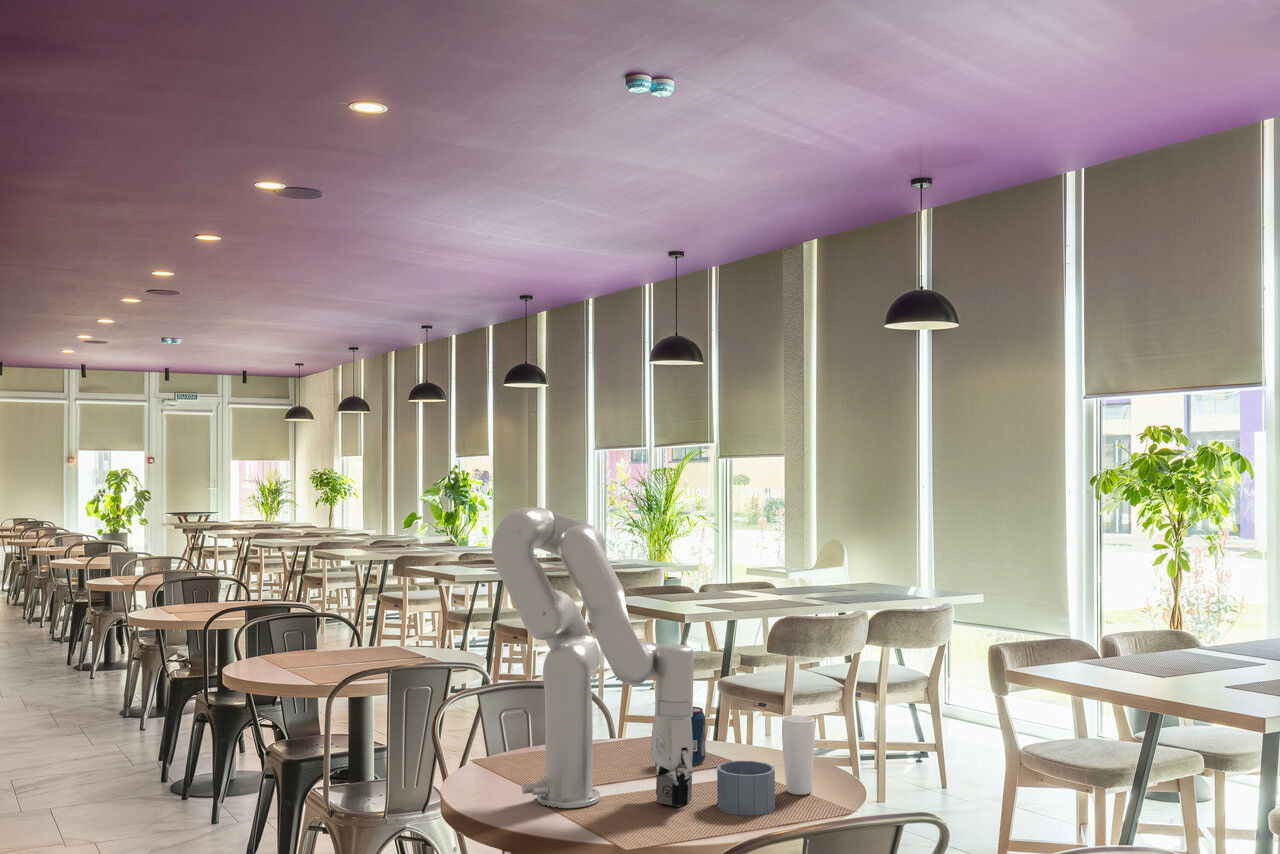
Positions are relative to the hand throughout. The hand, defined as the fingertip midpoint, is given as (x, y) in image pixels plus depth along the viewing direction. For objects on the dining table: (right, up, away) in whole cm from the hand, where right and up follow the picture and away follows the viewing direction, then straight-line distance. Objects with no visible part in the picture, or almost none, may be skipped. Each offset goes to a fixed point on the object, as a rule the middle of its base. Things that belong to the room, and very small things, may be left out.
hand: (671, 798), depth 209 cm
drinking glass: (+27, -2, +8) cm, 28 cm away
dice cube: (+1, -1, +1) cm, 1 cm away
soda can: (+5, -3, +33) cm, 33 cm away
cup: (+15, -1, -1) cm, 15 cm away
